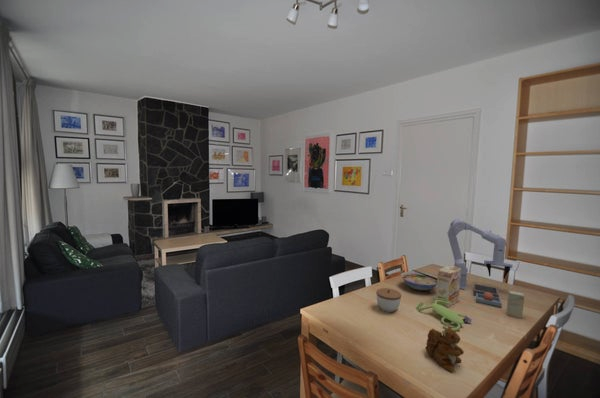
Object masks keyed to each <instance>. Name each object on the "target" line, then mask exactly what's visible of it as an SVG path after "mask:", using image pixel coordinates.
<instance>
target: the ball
mask: <svg viewBox="0 0 600 398" xmlns="http://www.w3.org/2000/svg"><path fill="white" fill-rule="evenodd" d="M483 298H484V299H485V300H489V301H492V300H493V298H494V297H493V295H492V294H491V293H489V292H486V293H484V294H483Z"/></svg>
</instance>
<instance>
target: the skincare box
mask: <svg viewBox="0 0 600 398" xmlns="http://www.w3.org/2000/svg"><path fill="white" fill-rule="evenodd" d="M524 302H525V294H524V293H523V292H518V291H512V290H508V293H507V302H506V311H505V313H506V315H507V316H510V317H514V318H518V319H523V311H524V304H525V303H524Z"/></svg>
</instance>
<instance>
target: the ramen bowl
mask: <svg viewBox="0 0 600 398" xmlns="http://www.w3.org/2000/svg"><path fill="white" fill-rule="evenodd" d="M400 276H401V278H402V280H403V282H404V283H405V284H406V285H407V286H408V287H409V288H412V289H414V290H416V291H419V292H420V291H421V292H422V291H430V290H432V289H434V288H435V287H436V288H437V284H438V276H435V275H434V274H429V273H426V272H422V271H417V270H414V269H412V271H405V272H402V273H401V274H400Z"/></svg>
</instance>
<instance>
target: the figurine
mask: <svg viewBox="0 0 600 398" xmlns="http://www.w3.org/2000/svg"><path fill="white" fill-rule="evenodd" d="M432 299H433V300H434V302H433V303H431V304H430V305H427V306H423V305H424V304H425V303H424V301H421V302H419V304H417V306H416V307H415V309H416V310H417V311H418V310H419V311H424V310H428V309H431V308H432V309H433V310H434V311H435V312H436V313H437V314H439V315H440V316H441V318H440V321H441V323H442V325H443V328H444V330H445V329H447V328H448V327H449V326H448V327H447V326H446V325H449V324H450V325H457V326H456V327H454V328H451V329H452V330H454V331H455V332H458V331H459V330H460V329H461V325H463V324H464V323H468V324H469V325H470V324H471V322H472V318H470V317H468V316H467V315H465V314H462V313H456V312H455V311H453V310H452V309H450V308H449V307H445V306H443V305H440V304H437V302H442V303H445V304H449V301H448V300H447V299H442V298H437V297H435V296H434V297H433V298H432ZM442 300H443V301H442ZM445 301H446V302H445ZM445 320H448V321H450V322H445ZM445 324H446V325H445Z"/></svg>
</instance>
